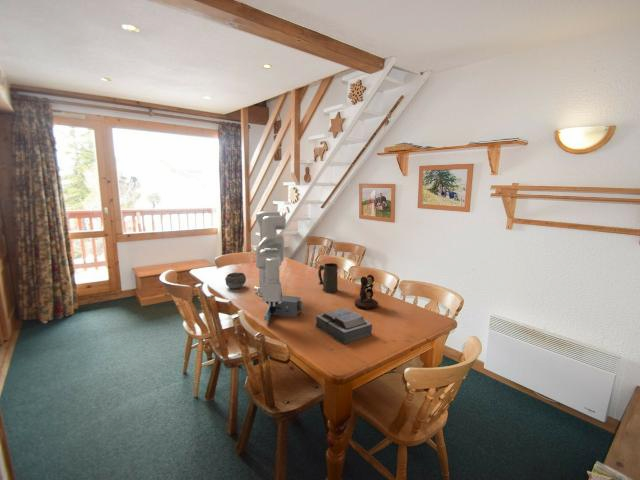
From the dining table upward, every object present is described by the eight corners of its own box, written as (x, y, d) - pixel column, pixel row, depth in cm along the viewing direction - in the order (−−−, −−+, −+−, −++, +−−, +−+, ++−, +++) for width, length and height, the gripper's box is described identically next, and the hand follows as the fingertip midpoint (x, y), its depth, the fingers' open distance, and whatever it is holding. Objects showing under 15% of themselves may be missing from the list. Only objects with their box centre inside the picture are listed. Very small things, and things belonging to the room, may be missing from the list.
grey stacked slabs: (334, 347, 150) (335, 327, 148) (312, 324, 174) (312, 307, 172) (375, 338, 159) (376, 320, 157) (349, 317, 183) (350, 301, 182)
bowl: (248, 285, 237) (248, 272, 236) (241, 291, 222) (241, 278, 220) (230, 284, 239) (230, 271, 237) (222, 290, 224) (222, 277, 222)
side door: (267, 314, 184) (267, 302, 183) (271, 314, 184) (271, 302, 183) (264, 324, 170) (264, 311, 169) (268, 324, 170) (268, 311, 169)
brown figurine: (363, 300, 212) (365, 271, 208) (382, 306, 202) (384, 276, 198) (349, 305, 202) (351, 275, 198) (368, 312, 191) (370, 280, 188)
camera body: (269, 314, 184) (269, 299, 182) (274, 308, 193) (274, 293, 191) (299, 317, 181) (299, 301, 179) (303, 311, 190) (303, 296, 188)
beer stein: (340, 289, 232) (339, 262, 229) (336, 293, 222) (335, 266, 219) (320, 288, 237) (319, 262, 234) (315, 292, 227) (314, 265, 224)
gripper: (256, 281, 169) (257, 314, 171) (283, 283, 166) (283, 316, 169) (261, 278, 176) (262, 309, 179) (287, 279, 174) (287, 311, 176)
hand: (272, 312), depth 174 cm, fingers closed
